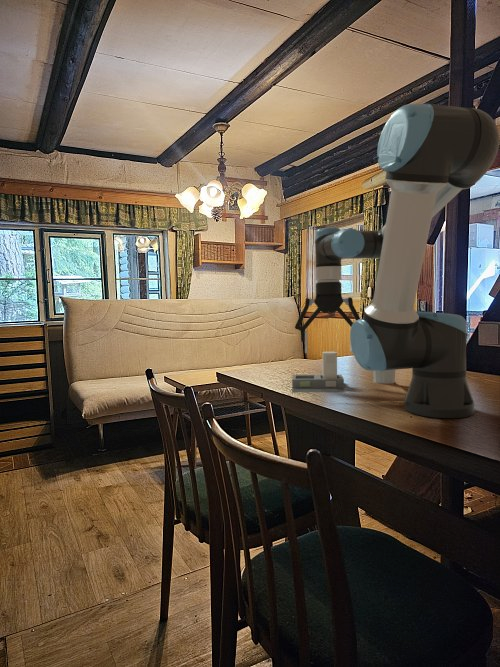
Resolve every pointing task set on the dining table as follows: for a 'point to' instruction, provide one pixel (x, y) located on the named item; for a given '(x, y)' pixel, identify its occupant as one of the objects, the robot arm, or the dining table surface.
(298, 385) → the panel
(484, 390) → the dining table surface
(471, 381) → the dining table surface
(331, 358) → the plug
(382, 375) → the cup
